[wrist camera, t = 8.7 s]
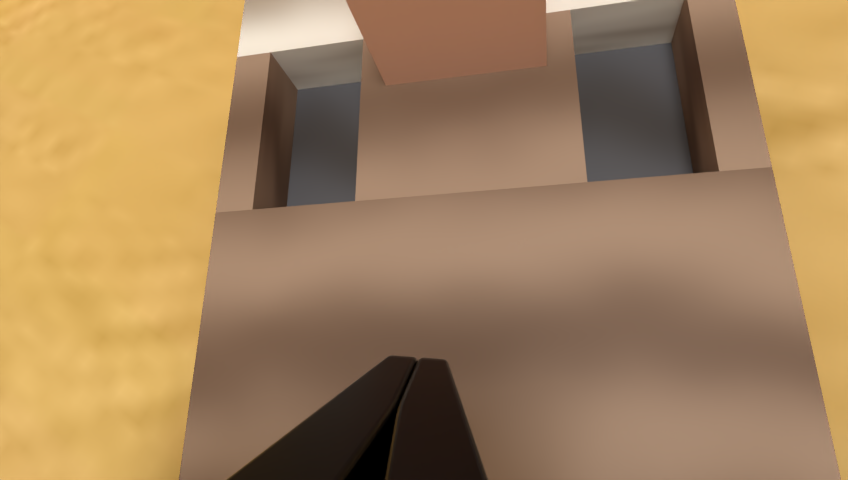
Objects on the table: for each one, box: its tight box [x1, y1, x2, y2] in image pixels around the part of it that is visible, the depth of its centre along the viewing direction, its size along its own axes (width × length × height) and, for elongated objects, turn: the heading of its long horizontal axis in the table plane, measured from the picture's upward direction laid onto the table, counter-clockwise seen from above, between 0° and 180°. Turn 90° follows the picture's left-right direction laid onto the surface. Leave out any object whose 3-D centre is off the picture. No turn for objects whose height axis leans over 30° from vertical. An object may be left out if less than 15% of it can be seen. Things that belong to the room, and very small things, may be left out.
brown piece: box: [179, 0, 841, 480], centre depth 20 cm, size 25×19×6 cm
